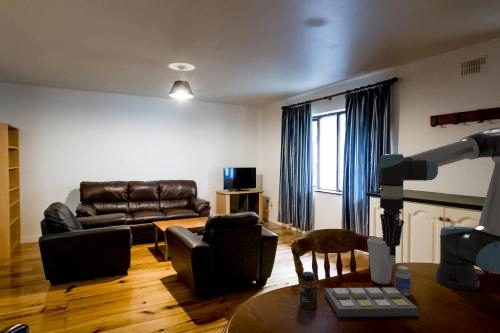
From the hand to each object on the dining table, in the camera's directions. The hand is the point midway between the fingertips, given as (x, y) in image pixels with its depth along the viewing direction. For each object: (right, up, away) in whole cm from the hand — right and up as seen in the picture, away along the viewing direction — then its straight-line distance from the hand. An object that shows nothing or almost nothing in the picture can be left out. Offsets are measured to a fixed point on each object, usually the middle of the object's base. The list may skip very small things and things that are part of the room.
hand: (390, 263), depth 109 cm
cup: (+5, -14, +19) cm, 24 cm away
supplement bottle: (-30, -14, -2) cm, 33 cm away
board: (-9, -14, -2) cm, 17 cm away
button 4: (-18, -12, 0) cm, 21 cm away
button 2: (-6, -12, 0) cm, 13 cm away
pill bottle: (+8, -14, +7) cm, 18 cm away
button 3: (-12, -12, 0) cm, 17 cm away
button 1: (0, -12, 0) cm, 12 cm away
